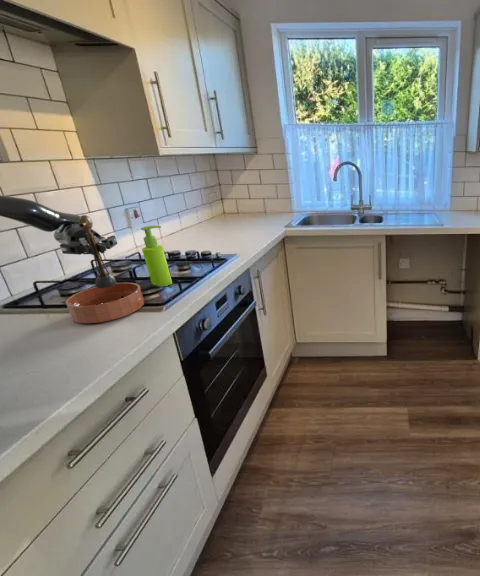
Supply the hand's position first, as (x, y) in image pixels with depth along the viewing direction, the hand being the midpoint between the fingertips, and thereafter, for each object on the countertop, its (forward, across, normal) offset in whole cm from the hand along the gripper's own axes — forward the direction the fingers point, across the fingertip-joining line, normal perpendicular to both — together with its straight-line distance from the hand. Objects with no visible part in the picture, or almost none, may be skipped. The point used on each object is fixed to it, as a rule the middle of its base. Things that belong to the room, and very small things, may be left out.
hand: (97, 250), depth 97 cm
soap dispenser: (-14, +17, +19) cm, 29 cm away
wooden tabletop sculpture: (-3, 0, +11) cm, 12 cm away
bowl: (-3, -1, +19) cm, 19 cm away
